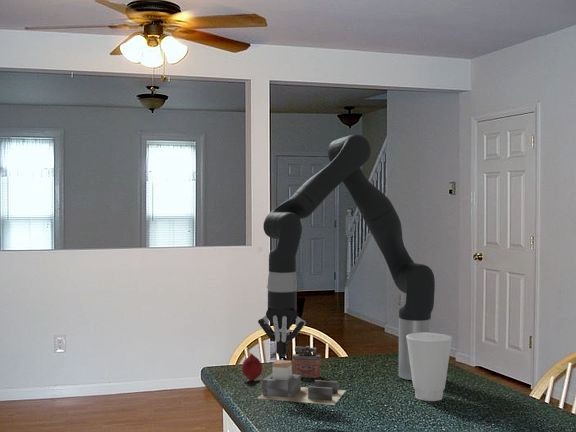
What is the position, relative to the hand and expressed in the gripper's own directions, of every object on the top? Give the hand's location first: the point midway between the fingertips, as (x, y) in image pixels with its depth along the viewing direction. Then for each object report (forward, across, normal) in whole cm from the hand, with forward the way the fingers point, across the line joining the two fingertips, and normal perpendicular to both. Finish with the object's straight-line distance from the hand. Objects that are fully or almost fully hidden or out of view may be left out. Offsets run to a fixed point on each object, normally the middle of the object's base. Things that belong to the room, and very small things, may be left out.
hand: (281, 355), depth 184 cm
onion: (+11, +13, -15) cm, 23 cm away
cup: (+11, -37, -12) cm, 40 cm away
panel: (+11, -6, 0) cm, 12 cm away
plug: (+10, 0, 0) cm, 10 cm away
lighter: (+11, -2, -19) cm, 22 cm away
